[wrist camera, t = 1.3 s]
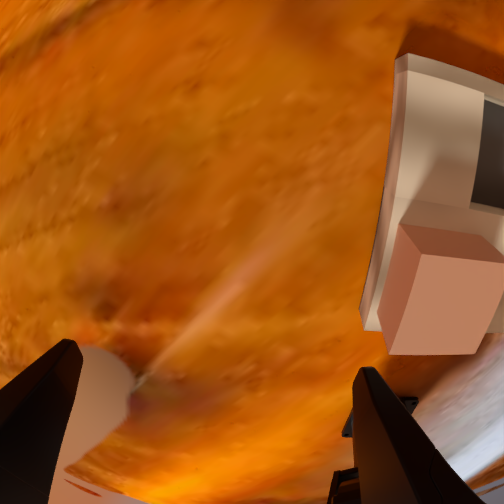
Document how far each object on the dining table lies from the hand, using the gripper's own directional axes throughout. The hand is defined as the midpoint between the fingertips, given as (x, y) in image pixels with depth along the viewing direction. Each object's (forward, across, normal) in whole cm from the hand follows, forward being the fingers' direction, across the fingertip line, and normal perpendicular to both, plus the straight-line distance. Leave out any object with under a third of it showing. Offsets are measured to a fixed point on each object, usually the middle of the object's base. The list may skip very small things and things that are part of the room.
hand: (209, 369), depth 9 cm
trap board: (+11, -22, -1) cm, 25 cm away
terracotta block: (+9, -12, +2) cm, 15 cm away
